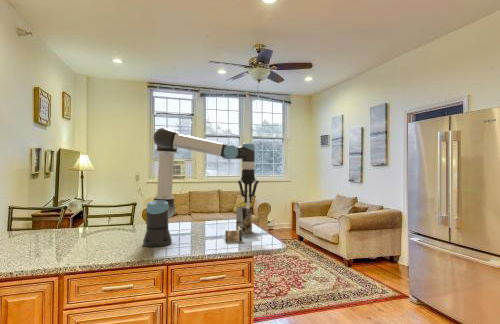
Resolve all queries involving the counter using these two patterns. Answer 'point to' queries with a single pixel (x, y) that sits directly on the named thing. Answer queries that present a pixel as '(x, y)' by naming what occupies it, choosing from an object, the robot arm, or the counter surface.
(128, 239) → the counter surface
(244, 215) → the coffee box
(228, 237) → the fence fixed section
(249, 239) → the card
